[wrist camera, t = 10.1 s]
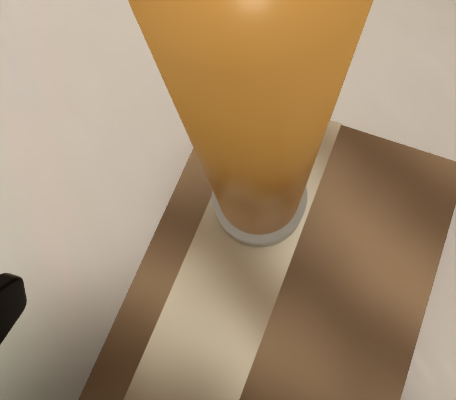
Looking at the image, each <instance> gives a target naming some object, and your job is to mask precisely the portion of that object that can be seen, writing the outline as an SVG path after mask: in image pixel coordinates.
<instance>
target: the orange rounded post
mask: <svg viewBox="0 0 456 400" xmlns="http://www.w3.org/2000/svg"><path fill="white" fill-rule="evenodd" d="M128 1H129V3H130V6H131V8H132V11H133V13H134V15H135V17H136V20H137V22H138V24H139V26H140V29H141V31H142V33H143V35H144V38H145V40H146V42H147V44H148V46H149V49H150V51H151V53H152V55H153V58H154V60H155V62H156V64H157V67H158V69H159V71H160V73H161V76H162V78H163V80H164V82H165V85H166V87H167V89H168V91H169V94H170V96H171V98H172V100H173V103H174V105H175V107H176V109H177V111H178V114H179V116H180V118H181V120H182V123H183V125H184V127H185V129H186V132H187V134H188V136H189V138H190V141H191V143H192V145H193V147H194V150H195V152H196V154H197V156H198V159H199V161H200V163H201V165H202V168H203V170H204V172H205V174H206V177H207V179H208V181H209V183H210V185H211V188H212V205H213V209H214V212H215V214H216V216H217V218H218V220H219V222H220V224H221V226H222V227H223V229H224V230H225V231H226V233H227V234H228V235H229V236H230V237H232V238H233V239H234V240H236V241H238V242H239V243H242V244H244V245H247V246H251V247H269V246H272V245H275V244H278V243H280V242H282V241H284V240H285V239H287V238H288V237H289V236H290V235H291V234H292V233H293V232H294V231H295V230H296V228H297V227H298V225H299V223H300V221H301V219H302V216H303V214H304V212H305V209H306V205H307V187H306V185H307V182H308V179H309V176H310V174H311V171H312V168H313V165H314V162H315V160H316V157H317V154H318V151H319V149H320V146H321V143H322V140H323V138H324V135H325V132H326V129H327V127H328V124H329V121H330V118H331V116H332V113H333V110H334V107H335V105H336V102H337V99H338V96H339V93H340V91H341V88H342V85H343V82H344V80H345V77H346V74H347V71H348V69H349V66H350V63H351V60H352V58H353V55H354V52H355V49H356V47H357V44H358V41H359V38H360V36H361V33H362V30H363V27H364V25H365V22H366V19H367V16H368V13H369V11H370V8H371V5H372V2H373V0H128Z"/></svg>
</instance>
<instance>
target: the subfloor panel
mask: <svg viewBox="0 0 456 400" xmlns="http://www.w3.org/2000/svg"><path fill="white" fill-rule="evenodd" d="M306 187H307V205H306V209H305V212H304V214H303V216H302V219H301V221H300V223H299V225H298V227H297V228H296V230H295V231H294V232H293V233H292V234H291V235H290V236H289V237H288V238H287V239H285V240H284V241H282V242H280V243H278V244H275V245H272V246H269V247H251V246H247V245H244V244H242V243H239V242H238V241H236V240H234V239H233V238H232V237H230V236H229V235H228V234H227V233H226V231H225V230H224V229H223V227H222V226H221V224H220V222H219V220H218V218H217V216H216V214H215V212H214V209H213V205H212V188H211V185H210V183H209V181H208V179H207V177H206V174H205V172H204V170H203V168H202V165H201V163H200V161H199V159H198V156H197V154H196V152H195V150H194V148H193V150H192V153H191V155H190V157H189V159H188V161H187V164H186V166H185V168H184V170H183V172H182V175H181V177H180V179H179V181H178V183H177V185H176V188H175V190H174V192H173V194H172V196H171V199H170V201H169V203H168V205H167V207H166V210H165V212H164V214H163V216H162V218H161V220H160V223H159V225H158V227H157V229H156V231H155V234H154V236H153V238H152V240H151V242H150V245H149V247H148V249H147V251H146V253H145V256H144V258H143V260H142V262H141V264H140V266H139V269H138V271H137V273H136V275H135V277H134V280H133V282H132V284H131V286H130V288H129V291H128V293H127V295H126V297H125V299H124V302H123V304H122V306H121V308H120V310H119V312H118V315H117V317H116V319H115V321H114V323H113V326H112V328H111V330H110V332H109V334H108V337H107V339H106V341H105V343H104V345H103V347H102V350H101V352H100V354H99V356H98V358H97V361H96V363H95V365H94V367H93V369H92V372H91V374H90V376H89V378H88V380H87V383H86V385H85V387H84V389H83V391H82V393H81V396H80V398H79V400H400V398H401V395H402V391H403V388H404V384H405V381H406V377H407V374H408V370H409V367H410V363H411V360H412V356H413V353H414V349H415V346H416V342H417V339H418V335H419V332H420V328H421V324H422V321H423V317H424V314H425V310H426V307H427V303H428V300H429V296H430V293H431V289H432V286H433V282H434V279H435V275H436V272H437V268H438V265H439V261H440V258H441V254H442V250H443V247H444V243H445V240H446V236H447V233H448V229H449V226H450V222H451V219H452V215H453V212H454V208H455V205H456V162H455V161H452V160H449V159H446V158H443V157H440V156H437V155H433V154H430V153H427V152H424V151H421V150H418V149H415V148H412V147H408V146H405V145H402V144H399V143H396V142H393V141H390V140H387V139H383V138H380V137H377V136H374V135H371V134H368V133H365V132H362V131H358V130H355V129H352V128H349V127H346V126H343V125H341V124H340V123H337V122H334V121H331V120H330V121H329V124H328V127H327V129H326V132H325V135H324V138H323V140H322V143H321V146H320V149H319V151H318V154H317V157H316V160H315V162H314V165H313V168H312V171H311V174H310V176H309V179H308V182H307V185H306Z"/></svg>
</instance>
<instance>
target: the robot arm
mask: <svg viewBox="0 0 456 400" xmlns="http://www.w3.org/2000/svg"><path fill="white" fill-rule="evenodd" d="M26 302H27V299H26V293H25V288H24V282H23V279H22V278H21V277H19V276H16V275H13V274H10V273H3V274H0V344H1V343H2V341H3V340H4V338H5V337H6V335H7V334H8V333H9V331H10V330H11V328H12V327H13V325H14V324H15V322H16V321H17V319H18V318H19V316H20V315H21V314H22V312H23V311H24V309H25V306H26Z"/></svg>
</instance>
